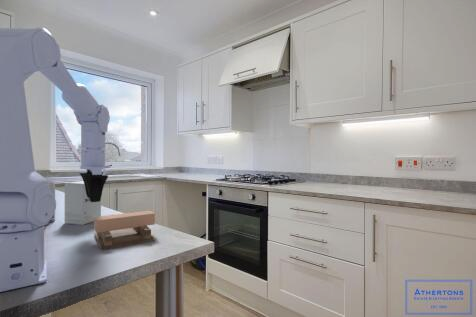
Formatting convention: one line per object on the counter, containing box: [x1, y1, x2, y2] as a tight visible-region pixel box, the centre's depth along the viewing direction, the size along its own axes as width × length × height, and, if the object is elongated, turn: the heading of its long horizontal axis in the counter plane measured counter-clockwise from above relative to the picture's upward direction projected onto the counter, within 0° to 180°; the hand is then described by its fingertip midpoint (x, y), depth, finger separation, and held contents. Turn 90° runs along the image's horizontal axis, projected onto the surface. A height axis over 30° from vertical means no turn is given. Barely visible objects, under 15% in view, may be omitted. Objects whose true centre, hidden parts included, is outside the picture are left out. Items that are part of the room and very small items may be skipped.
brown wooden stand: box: [93, 225, 155, 251], centre depth 69 cm, size 12×12×3 cm
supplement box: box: [64, 180, 102, 226], centre depth 84 cm, size 7×7×13 cm
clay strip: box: [93, 210, 156, 233], centre depth 69 cm, size 14×4×3 cm, turn 125°
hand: (93, 199), depth 72 cm, fingers open, 7 cm apart
